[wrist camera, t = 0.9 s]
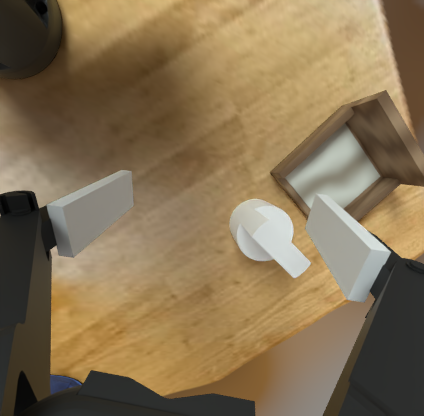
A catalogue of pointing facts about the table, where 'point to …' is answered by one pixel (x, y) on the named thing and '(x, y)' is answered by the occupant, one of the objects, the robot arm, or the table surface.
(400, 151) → the walnut rest
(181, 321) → the table surface
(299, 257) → the base with upright slab
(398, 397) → the robot arm
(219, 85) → the table surface
